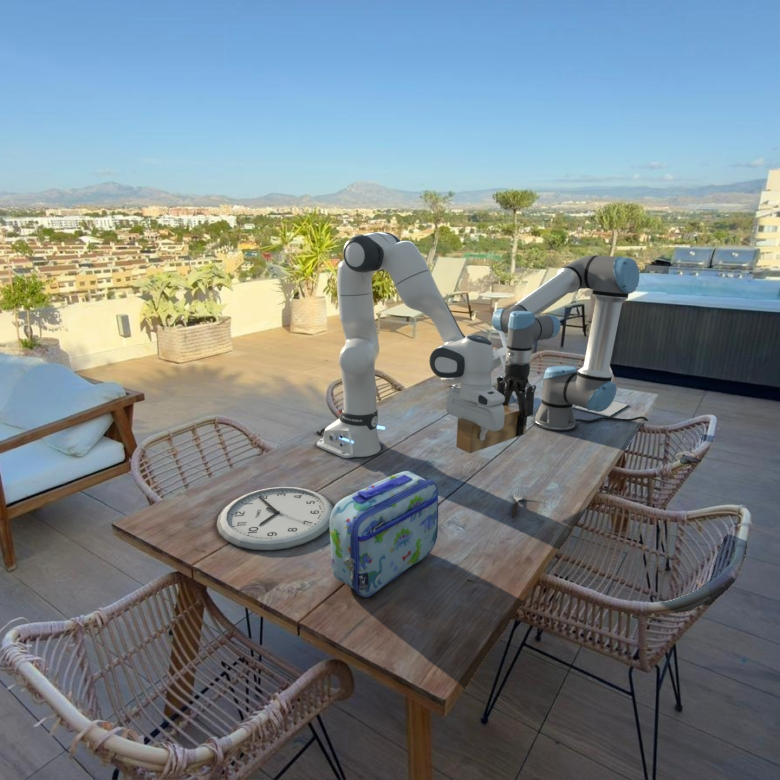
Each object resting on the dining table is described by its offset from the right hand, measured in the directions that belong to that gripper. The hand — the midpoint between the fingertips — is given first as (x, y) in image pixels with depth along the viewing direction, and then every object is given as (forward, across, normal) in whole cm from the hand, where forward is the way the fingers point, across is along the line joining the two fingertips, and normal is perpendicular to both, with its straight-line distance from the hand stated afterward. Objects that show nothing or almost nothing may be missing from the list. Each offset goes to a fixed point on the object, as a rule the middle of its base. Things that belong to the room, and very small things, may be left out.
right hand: (511, 431), depth 168 cm
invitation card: (+11, -13, +77) cm, 79 cm away
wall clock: (+11, -14, -76) cm, 78 cm away
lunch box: (+11, +20, -66) cm, 70 cm away
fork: (+11, +20, -21) cm, 30 cm away
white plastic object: (+11, -58, +49) cm, 77 cm away
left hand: (-3, 0, -18) cm, 19 cm away
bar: (+1, 0, -9) cm, 9 cm away
